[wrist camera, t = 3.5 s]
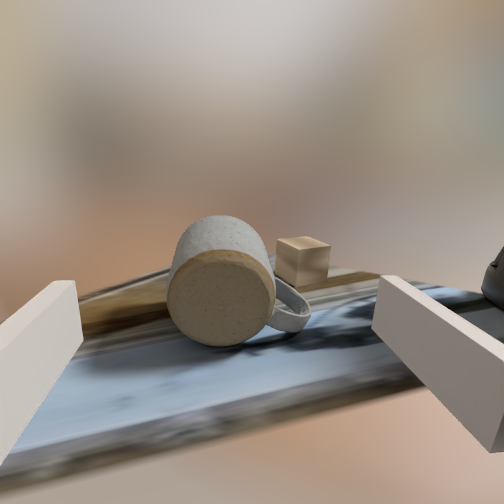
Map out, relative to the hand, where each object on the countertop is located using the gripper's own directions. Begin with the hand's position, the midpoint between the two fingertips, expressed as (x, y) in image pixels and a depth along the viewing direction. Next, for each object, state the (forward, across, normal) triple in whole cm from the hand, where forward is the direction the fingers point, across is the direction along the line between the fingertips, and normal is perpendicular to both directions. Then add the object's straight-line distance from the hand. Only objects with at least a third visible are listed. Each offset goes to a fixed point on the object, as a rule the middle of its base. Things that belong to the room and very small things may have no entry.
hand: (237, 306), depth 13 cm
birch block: (+18, +9, -6) cm, 21 cm away
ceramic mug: (+9, +1, -6) cm, 11 cm away
